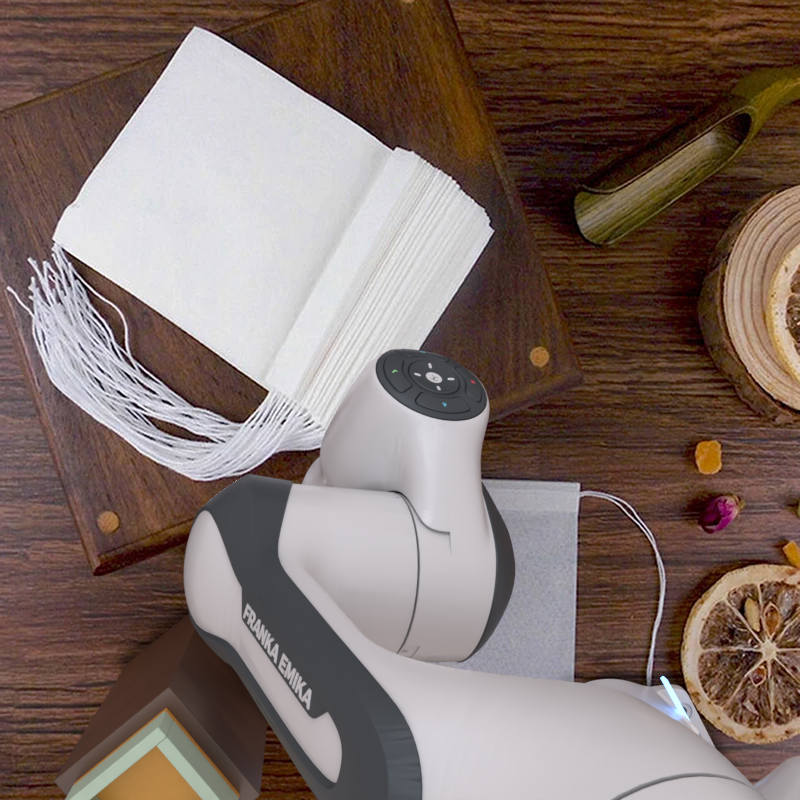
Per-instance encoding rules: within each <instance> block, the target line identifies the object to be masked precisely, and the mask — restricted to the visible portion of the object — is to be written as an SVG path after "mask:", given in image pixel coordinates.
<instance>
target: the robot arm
mask: <svg viewBox="0 0 800 800" xmlns="http://www.w3.org/2000/svg"><path fill="white" fill-rule="evenodd" d="M487 393H488V392H487V390H486V388H485V387H484V385H483V383H482V382H481V380H480V379H479V378H478V377H477V376H476V375H475V374H474V373H472V371H471V370H469V369H468V368H467V367H465V366H464V365H462V364H461V363H459V362H457V361H456V360H454V359H452V358H450V357H449V356H445V355H443V354H439V353H436V352H431V351H425V350H420V349H414V348H395V349H394V348H393V349H389V350H387V351H385V352H382V353H380V354H379V355H377V356H376V357H374V358H373V359H372V360H371V361H369V363H368V364H367V365H365V367H364V368H363V369H362V370H361V371H360V373H359V374H358V376H357V377H356V378H355V379H354V381H353V382H352V384H351V386H350V387H349V389H347V392H346V393H345V394H344V397H343V398H342V400H341V401H340V402H339V405H338V407H337V409H336V410H335V412H334V414H333V416H332V417H331V420H330V422H329V424H328V426H327V428H326V430H325V432H324V435H323V437H322V440H321V444H320V449H319V457H318V458H316V459H315V460H314V462H312V464H311V465H310V467H309V468H308V470H307V471H306V473H305V475H304V477H303V480H302V481H301V483H294V481H293V480H287V479H281V478H275V477H270V476H265V475H258V474H252V473H247V474H245V475H243V476H241V477H240V479H238V480H236V481H235V482H233V483H232V484H230V485H229V486H227V487H226V488H224V489H223V490H222V491H220V492H219V493H218V494H216V495H215V496H214V497H213V498H211V499H210V500H209V501H208V502H207V503H206V504H205V505H204V506H203V505H202V507H200V508H199V510H198V511H197V512H196V514H195V515H194V518H193V521H192V524H191V526H190V530H189V535H188V539H187V543H186V547H185V551H184V552H185V553H184V561H183V588H184V595H185V601H186V606H187V611H188V613H189V616H190V619H191V622H192V624H193V626H194V627H195V629H196V631H197V632H198V633H199V635H200V636H201V638H202V639H203V640H204V641H205V643H206V644H207V645H208V646H209V647H210V648H211V649H212V650H213V651H214V652H215V653H216V654H217V655H218V656H219V657H220V658H221V659H222V660H223V661H224V662H226V663H227V664H229V665H231V666H232V667H233V669H234V670H235V671H236V673H237V674H238V676H239V677H240V679H241V680H242V682H243V684H244V685H245V687H246V688H247V690H248V692H249V693H250V695H251V696H252V698H253V699H254V701H255V703H256V704H257V706H258V707H259V709H260V711H261V712H262V714H263V715H264V717H265V718H266V720H267V722H268V723H267V724H268V725H269V727H270V729H272V731H273V733H274V735H275V737H276V738H277V739H278V741H279V742H280V744H281V745H282V747H283V749H284V750H285V752H286V753H287V755H288V756H289V758H290V760H291V761H292V763H293V764H294V766H295V768H296V769H297V771H298V773H299V774H300V775H301V777H302V778H303V780H304V782H305V783H306V785H307V786H308V788H309V789H310V790H311V792H312V794H313V795H314V797H315V798H316V800H800V754H799V755H795V756H791V757H788V758H785V759H784V760H783V761H782V762H781V763H780V764H779V765H778V766H776V767H775V768H774V769H773V770H772V771H770V772H769V773H768V774H766V775H765V776H764V777H762V778H761V779H759V780H758V781H756V782H754V783H752V782H751V781H750V780H749V779H748V778H747V776H746V775H744V774H743V773H742V772H741V771H740V770H739V769H738V768H737V767H736V766H735V765H734V764H733V763H732V762H731V761H730V760H729V759H728V758H727V757H726V756H725V755H723V753H721V752H720V751H719V750H718V749H717V748H716V746H715V744H714V743H713V740H712V737H711V736H710V734H709V732H708V731H707V728H706V726H705V725H704V723H703V721H702V719H701V716H700V715H699V713H698V710H697V708H696V707H695V705H694V703H693V701H692V699H691V697H690V695H689V694H688V693H687V691H686V690H685V689H684V688H683V687H682V686H681V685H678V684H673V683H672V684H671V683H670V681H669V680H668V679H667V678H666V677H665V676H664V675H662V676H661V677H660V680H661V682H662V684H660V685H652V686H647V685H643V684H639V683H636V682H633V681H629V680H625V679H620V678H619V679H618V678H600V679H594V680H590V681H586V682H579V681H571V680H570V681H569V680H562V679H552V678H543V677H534V676H533V677H532V676H523V675H516V674H515V675H513V674H503V673H495V672H487V671H479V670H473V669H466V668H465V669H463V668H457V667H453V666H446V665H441V664H440V663H464V662H466V661H467V660H469V659H471V658H472V657H474V656H475V654H476V653H478V652H479V651H480V650H481V649H482V648H483V647H484V646H485V645H486V643H487V642H488V641H489V639H490V638H491V637H492V636H493V634H494V632H495V631H496V629H497V627H498V625H499V624H500V622H501V621H502V618H503V616H504V614H505V613H506V610H507V608H508V606H509V603H510V600H511V597H512V595H513V591H514V586H515V581H516V558H515V552H514V548H513V547H514V546H513V543H512V539H511V536H510V532H509V530H508V527H507V524H506V523H505V520H504V518H503V516H502V515H501V513H500V511H499V509H498V507H497V505H496V504H495V502H494V501H495V500H493V498H492V496H491V494H490V492H489V490H488V489H487V487H486V485H485V484H484V482H483V480H482V450H483V444H484V440H485V436H486V431H487V427H488V422H489V418H490V409H491V407H490V401H489V396H488V394H487ZM437 663H439V664H437Z"/></svg>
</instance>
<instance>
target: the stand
mask: <svg viewBox="0 0 800 800" xmlns="http://www.w3.org/2000/svg"><path fill="white" fill-rule="evenodd" d="M165 708H167V709H168V710H169V711H170V712H171V713H172V714H173V716H174V717H175V718H176V719H177V720H178V722H179V723H180V724H181V725H182V726H183V727H184V729H185V730H186V731H187V732H188V733H189V735H190V736H191V737H192V738H193V739H194V740H195V742H196V743H197V744H198V745H199V746H200V748H201V749H202V750H203V751H204V752H205V753H206V755H207V756H208V757H209V758H210V759H211V761H212V762H213V763H214V764H215V765H216V767H217V768H218V769H219V770H220V771H221V772H222V774H223V775H224V776H225V777H226V778H227V780H228V781H229V782H230V783H231V784H232V785H233V787H234V788H235V789H236V790H237V791H238V793H239V794H240V795H239V800H256V799H258V798H259V797H260V796H261V789H262V779H263V771H264V762H265V761H264V760H265V751H266V742H267V741H266V740H267V731H268V724H269V723H268V722H267V720H266V718H265V717H264V715H263V714H262V712H261V711H260V709H259V707H258V706H257V704H256V703H255V701H254V699H253V698H252V696H251V695H250V693H249V692H248V690H247V688H246V687H245V685H244V684H243V682H242V680H241V679H240V677H239V676H238V674H237V673H236V671H235V670H234V669H233V667H232V666H231V665H229V664H227V663H226V662H224V661H223V660H222V659H221V658H220V657H219V656H218V655H217V654H216V653H215V652H214V651H213V650H212V649H211V648H210V647H209V646H208V645H207V644H206V643H205V641H204V640H203V639H202V638H201V636H200V635H199V633H198V632H197V631H196V629H195V627H194V626H193V624H192V622H191V619H190V616H189V612H188V613H187V614H186V615H184V616H183V617H182V618H181V619H179V620H178V621H177V622H176V623H174V625H172V626H171V627H169V629H167V630H165V632H163V633H162V634H161V635H160V636H159V637H158V638H156V639H155V640H154V641H153V642H151V643H150V644H149V645H147V646H146V647H145V648H144V649H142V650H141V651H140V652H139V653H138V654H136V655H135V656H134V657H132V658H131V659H130V660H129V661H128V662H127V663H126V664H125V666H124V668H123V669H122V671H121V673H120V674H119V675H118V677H117V679H116V681H115V682H114V683H113V685H112V686H111V687H110V690H109V691H108V693H107V694H106V696H105V698H104V700H103V701H102V703H101V704H100V706H99V708H98V709H97V711H96V712H95V714H94V715H93V717H92V718H91V720H90V722H89V724H88V725H87V727H86V728H85V730H84V731H83V733H82V735H81V736H80V737H79V740H78V741H77V743H76V744H75V746H73V747H74V748H73V749H72V750H71V752H70V754H69V755H68V757H67V759H66V760H65V762H64V763H63V765H62V766H61V768H60V769H59V771H58V773H57V775H56V776H55V778H54V780H53V783H54V784H55V785H56V786H57V787H58V788H59V790H60V791H62V792H63V794H64V795H65V796H66V797H67V795H68V794H69V792H70V790H71V788H72V787H73V785H74V783H75V782H76V781H77V780H78V779H79V778H81V777H82V776H83V775H84V774H86V773H87V772H88V771H89V770H90V769H92V768H93V767H94V766H95V765H97V764H98V763H99V762H100V761H101V760H103V759H104V758H105V757H106V756H108V755H109V754H110V753H111V752H113V751H114V750H115V749H116V748H117V747H119V746H120V745H121V744H122V743H124V742H125V741H126V740H127V739H128V738H130V737H131V736H132V735H133V734H135V733H136V732H137V731H138V730H139V729H141V728H142V727H143V726H144V725H146V724H147V723H148V722H149V721H150V720H152V719H153V718H154V717H155V716H157V715H158V714H159V713H160V712H162V711H163V710H164V709H165Z"/></svg>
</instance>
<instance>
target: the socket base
mask: <svg viewBox="0 0 800 800" xmlns="http://www.w3.org/2000/svg"><path fill="white" fill-rule="evenodd" d="M239 795H240V794H239V793H238V791H237V790H236V789H235V788H234V787H233V785H232V784H231V783H230V782H229V781H228V780H227V778H226V777H225V776H224V775H223V774H222V772H221V771H220V770H219V769H218V768H217V767H216V765H215V764H214V763H213V762H212V761H211V759H210V758H209V757H208V756H207V755H206V753H205V752H204V751H203V750H202V749H201V748H200V746H199V745H198V744H197V743H196V742H195V740H194V739H193V738H192V737H191V736H190V735H189V733H188V732H187V731H186V730H185V729H184V727H183V726H182V725H181V724H180V723H179V722H178V720H177V719H176V718H175V717H174V716H173V714H172V713H171V712H170V711H169V710H168V709H167V708H165V709H164V710H163V711H162V712H160V713H159V714H158V715H157V716H155V717H154V718H153V719H152V720H150V721H149V722H148V723H147V724H146V725H144V726H143V727H142V728H141V729H139V730H138V731H137V732H136V733H135V734H133V735H132V736H131V737H130V738H128V739H127V740H126V741H125V742H124V743H122V744H121V745H120V746H119V747H117V748H116V749H115V750H114V751H113V752H111V753H110V754H109V755H108V756H106V757H105V758H104V759H103V760H101V761H100V762H99V763H98V764H97V765H95V766H94V767H93V768H92V769H90V770H89V771H88V772H87V773H86V774H84V775H83V776H82V777H81V778H79V779H78V780H77V781H76V782H75V783H74V785H73V787H72V788H71V790H70V792H69V794H68V795H67V796H66V797H65V798H64V800H239Z"/></svg>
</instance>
